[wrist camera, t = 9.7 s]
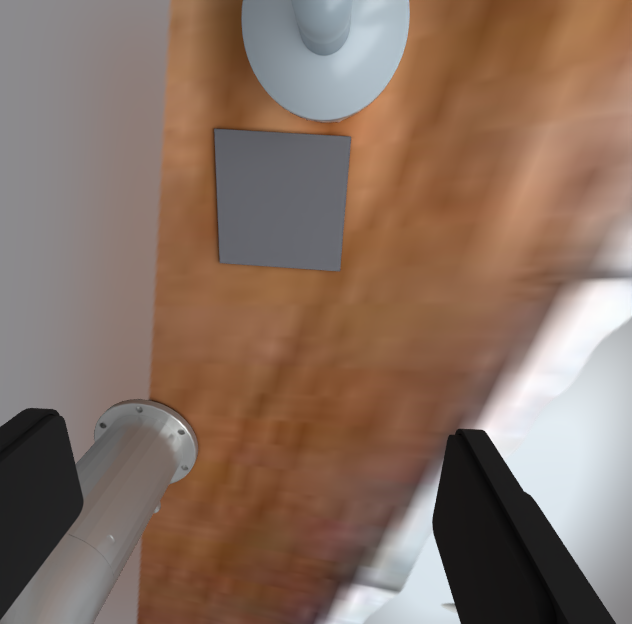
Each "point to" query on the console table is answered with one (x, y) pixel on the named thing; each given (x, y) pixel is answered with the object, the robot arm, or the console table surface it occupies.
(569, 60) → the console table surface
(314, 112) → the lid
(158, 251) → the console table surface
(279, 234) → the mat
